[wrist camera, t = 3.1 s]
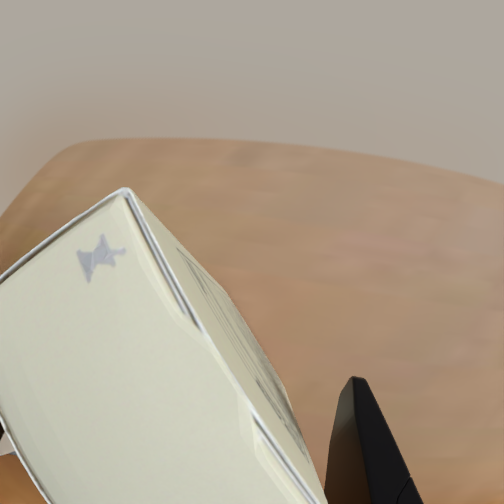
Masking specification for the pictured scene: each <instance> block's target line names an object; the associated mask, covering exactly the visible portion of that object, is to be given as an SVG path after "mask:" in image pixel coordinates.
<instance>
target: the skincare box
mask: <svg viewBox="0 0 504 504" xmlns="http://www.w3.org/2000/svg"><path fill="white" fill-rule="evenodd" d="M0 422H1V424H2V426H3V429H4V431H5V433H6V435H7V436H8V438H9V440H10V442H11V444H12V446H13V448H14V450H15V452H16V454H17V456H18V458H19V459H20V461H21V463H22V464H23V466H24V468H25V469H26V471H27V473H28V474H29V476H30V478H31V479H32V481H33V482H34V484H35V486H36V487H37V489H38V490H39V492H40V493H41V495H42V496H43V497H44V499H45V501H46V502H47V503H48V504H328V502H327V500H326V497H325V494H324V492H323V489H322V487H321V484H320V481H319V479H318V476H317V473H316V471H315V468H314V466H313V463H312V460H311V458H310V455H309V452H308V450H307V447H306V444H305V442H304V439H303V436H302V434H301V431H300V428H299V426H298V423H297V420H296V418H295V415H294V412H293V410H292V407H291V404H290V402H289V399H288V396H287V393H286V390H285V388H284V386H283V384H282V382H281V380H280V379H279V377H278V375H277V374H276V372H275V370H274V369H273V367H272V365H271V363H270V362H269V360H268V358H267V357H266V355H265V354H264V352H263V350H262V349H261V347H260V345H259V344H258V342H257V340H256V339H255V337H254V336H253V334H252V332H251V331H250V329H249V327H248V326H247V324H246V323H245V321H244V319H243V318H242V316H241V315H240V313H239V311H238V310H237V308H236V307H235V305H234V304H233V302H232V301H231V299H230V297H229V296H228V294H227V293H226V291H225V290H224V289H223V288H222V287H221V286H220V285H219V284H218V283H217V282H216V281H215V280H214V279H213V278H212V276H211V275H210V274H209V273H208V272H207V271H206V270H205V269H204V268H203V267H202V266H201V265H200V264H199V263H198V262H197V261H196V260H195V259H194V257H193V256H192V255H191V254H190V253H189V252H188V251H187V250H186V249H185V248H184V247H183V246H182V245H181V243H180V242H179V241H178V240H177V239H176V238H175V237H174V236H173V235H172V234H171V233H170V231H169V230H168V229H167V228H166V227H165V226H164V225H163V224H162V223H161V222H160V221H159V220H158V218H157V217H156V216H155V215H154V214H153V213H152V212H151V211H150V210H149V209H148V208H147V207H146V205H145V204H144V203H143V202H142V201H141V200H140V199H139V198H138V197H137V195H136V194H135V193H134V192H133V191H132V190H131V189H130V188H127V187H122V188H120V189H118V190H116V191H115V192H113V193H111V194H110V195H108V196H107V197H105V198H104V199H102V200H101V201H99V202H98V203H97V204H95V205H94V206H93V207H91V208H90V209H88V210H86V211H85V212H83V213H81V214H80V215H78V216H77V217H75V218H74V219H72V220H71V221H70V222H69V223H67V224H66V225H64V226H63V227H62V228H60V229H59V230H57V231H56V232H54V233H53V234H51V235H50V236H49V237H47V238H46V239H45V240H44V241H42V242H41V243H40V244H39V245H37V246H36V247H35V248H34V249H32V250H31V251H29V252H28V253H27V254H26V255H25V256H23V257H22V258H20V259H19V260H18V261H17V262H16V263H14V264H13V265H12V266H11V267H10V268H9V269H8V270H6V271H5V272H4V273H3V274H2V275H1V276H0Z"/></svg>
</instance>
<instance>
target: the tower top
mask: <svg viewBox="0 0 504 504" xmlns="http://www.w3.org/2000/svg"><path fill="white" fill-rule="evenodd" d="M14 451H15V450H14V448H13V446H12V444H11V442H10V440H9V438H8V436H7V435H6V433H4V434H3V437H2V438H1V440H0V456H1V455H5V454H8V453H11V452H14Z"/></svg>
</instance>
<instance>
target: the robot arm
mask: <svg viewBox="0 0 504 504" xmlns="http://www.w3.org/2000/svg"><path fill="white" fill-rule="evenodd" d="M4 433H5V431H4V429H3V426H2V424H1V422H0V440H1V438H2V437H3V434H4ZM324 494H325V497H326V500H327V502H328V504H424V503H423V501H422V499H421V497H420V495H419V493H418V491H417V488H416V486H415V484H414V482H413V479H412V477H410V473H409V471H408V468H407V466H406V464H405V462H404V459H403V457H402V455H401V453H400V450H399V448H398V446H397V444H396V442H395V440H394V437H393V435H392V433H391V431H390V429H389V427H388V425H387V422H386V420H385V418H384V416H383V414H382V412H381V410H380V408H379V406H378V403H377V401H376V399H375V397H374V395H373V393H372V391H371V389H370V387H369V385H368V383H367V381H366V380H365V379H364V378H361V377H356V376H352V377H351V378H350V379H349V380H348V382H347V384H346V385H345V387H344V388H343V390H342V391H341V393H340V396H339V401H338V406H337V411H336V416H335V421H334V425H333V430H332V435H331V440H330V445H329V454H328V463H327V472H326V480H325V488H324Z"/></svg>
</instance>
